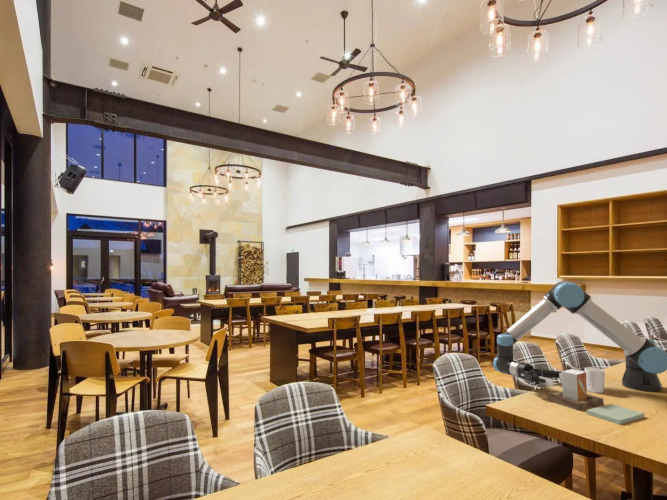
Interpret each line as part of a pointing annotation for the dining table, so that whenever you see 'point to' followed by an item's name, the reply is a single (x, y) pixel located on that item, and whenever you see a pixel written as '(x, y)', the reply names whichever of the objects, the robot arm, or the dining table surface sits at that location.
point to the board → (615, 413)
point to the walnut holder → (589, 403)
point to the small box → (574, 385)
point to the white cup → (595, 379)
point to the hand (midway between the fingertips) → (563, 381)
